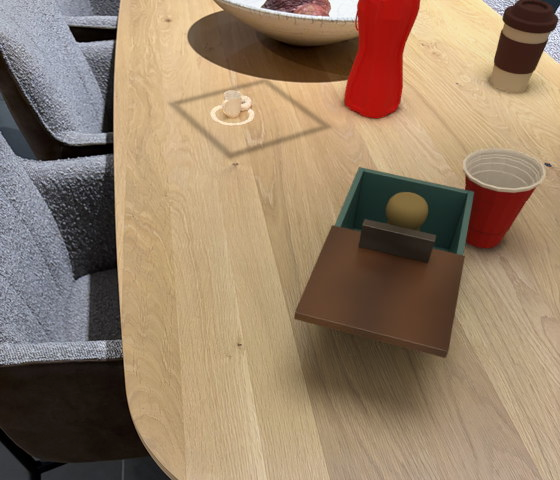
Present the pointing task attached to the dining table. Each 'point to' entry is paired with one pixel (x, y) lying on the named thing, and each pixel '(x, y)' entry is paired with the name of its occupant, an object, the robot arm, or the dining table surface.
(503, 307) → the dining table surface
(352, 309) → the sliding lid
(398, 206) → the brown pawn
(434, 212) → the storage box
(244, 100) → the teacup and saucer
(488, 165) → the plastic cup
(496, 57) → the coffee cup
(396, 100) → the water bottle
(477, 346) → the dining table surface
